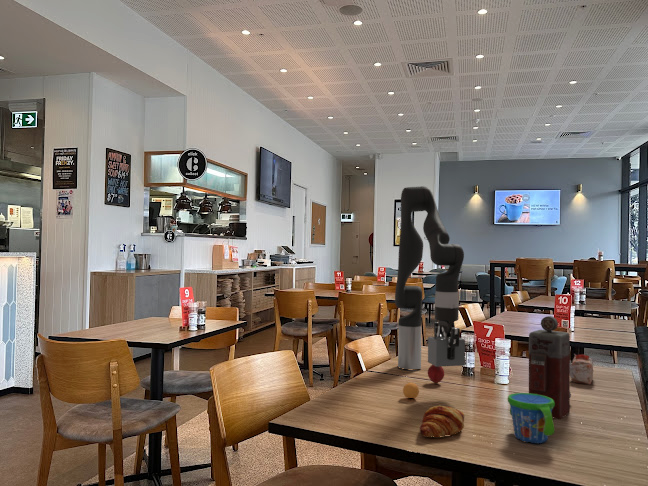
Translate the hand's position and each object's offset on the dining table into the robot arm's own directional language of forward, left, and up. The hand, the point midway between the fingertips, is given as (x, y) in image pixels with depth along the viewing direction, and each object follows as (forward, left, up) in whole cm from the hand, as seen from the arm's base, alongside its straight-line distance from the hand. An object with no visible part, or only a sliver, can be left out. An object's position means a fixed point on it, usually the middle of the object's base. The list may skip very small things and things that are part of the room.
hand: (446, 356), depth 163 cm
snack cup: (+39, +4, -13) cm, 41 cm away
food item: (-12, +60, -13) cm, 63 cm away
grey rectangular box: (0, 0, -2) cm, 2 cm away
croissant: (+30, -15, -13) cm, 36 cm away
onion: (-16, +4, -13) cm, 21 cm away
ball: (+1, -12, -10) cm, 16 cm away
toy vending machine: (+21, +22, -13) cm, 33 cm away
